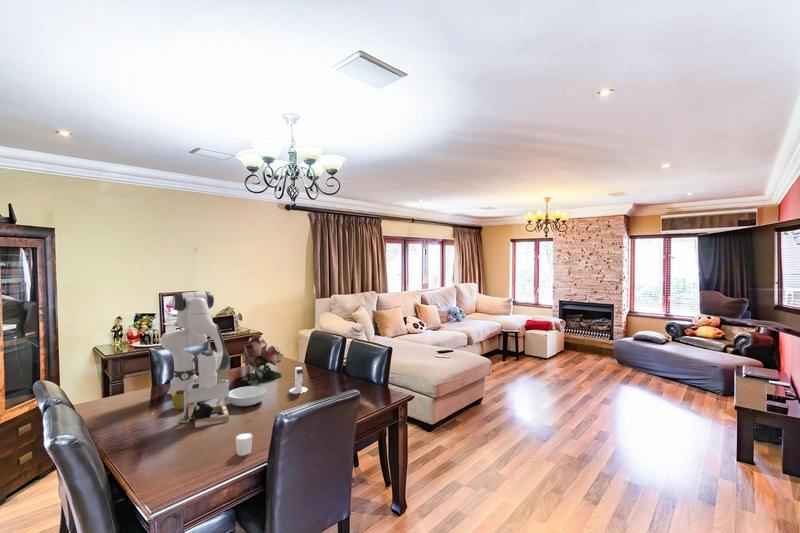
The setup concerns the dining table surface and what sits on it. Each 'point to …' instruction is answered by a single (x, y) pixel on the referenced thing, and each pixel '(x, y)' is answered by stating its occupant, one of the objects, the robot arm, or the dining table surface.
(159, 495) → the dining table surface
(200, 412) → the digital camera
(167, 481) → the dining table surface
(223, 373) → the plant pot
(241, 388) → the serving bowl
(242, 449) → the shot glass
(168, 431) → the dining table surface
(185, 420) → the hook post
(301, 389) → the white post stand
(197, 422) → the wooden frame
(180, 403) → the flower pot
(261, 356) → the rose bouquet
